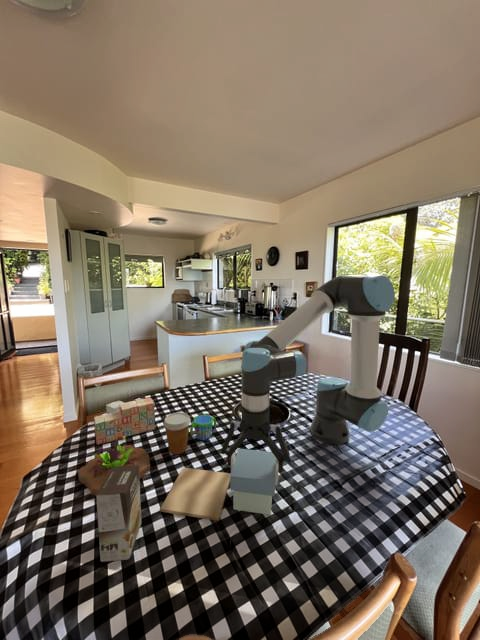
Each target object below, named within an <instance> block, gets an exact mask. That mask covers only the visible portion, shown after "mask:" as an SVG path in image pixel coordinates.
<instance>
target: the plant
mask: <svg viewBox="0 0 480 640" xmlns="http://www.w3.org/2000/svg"><path fill="white" fill-rule="evenodd" d="M125 439H126V437H125V436H120V437H118V438H117V439H116V440H115V442H114V444H113V448H111V449H110V448H102V449H100V450H98V451H97V452H95V453H94V458H90V459H88V461H87V464H85V465H84V466H81V467H80V469H79V470H78V475H77V476H78V477H77V478H78V481H79V482H80V483H81V484H83V485H85V486H86V487H87V489H88V490H89V491H90V495H92V496H96V494H97V492H98V491H99V489H100V487H101V486H102V484H103V483H104V481H105V479H106V478H107V476H108V474H109V473H110V471H111V470H112V468H113V467H121V466H128V465H139V480H141V478H143V477H144V476H145V475H147V473H150V471H151V463H150V455H149V453H148V452H147V451H146V450H145V449H144V448H142V447H136V446H134V445H131V444H127V445H123V446H121V445H120V444H118V443H119V440H120V441H122V442H123V441H125ZM101 452H105V453H101Z"/></svg>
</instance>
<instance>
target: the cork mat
mask: <svg viewBox="0 0 480 640" xmlns="http://www.w3.org/2000/svg"><path fill="white" fill-rule="evenodd" d="M230 475H231V472H230V473H229V472H221V471H216V470H215V471H213V470H208V469H207V470H205V469H199V468H198V469H197V468H190V467H182V469H181V471H180V472H179V474H178V476H177V478H176V479H175V481H174V483H173V485H172V487H171V489H170V491H169V493H168V494H167V495H166V498H165V500H164V501H163V503H162V504H161V506H160V509H159V510H160V512H163V513H169V514H173V515H181V516H188V517H193V518H198V519H205V520H206V519H207V520H212V521H220V519H221V514H222V511H223V507H224V503H225V500H226V496H227V492H228V489H229V485H230Z"/></svg>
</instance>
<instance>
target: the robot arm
mask: <svg viewBox="0 0 480 640" xmlns="http://www.w3.org/2000/svg"><path fill="white" fill-rule="evenodd" d="M395 292H396V291H395V287H394V284H393V282H392V281H391V279H390V278H389V277H388V276H386V275H385V274H381V273H380V274H379V273H366V274H363V273H362V274H343V275H338V276H336V277H334V278H332V279H330V280H328V281H326V282H325V283H323V284H322V285H320V286H319V287H317V288H316V290H314V291H313V292H312V293H311V295H310V298H309V299H307V301H305V302H303V304H301V305H300V306H299V307H298V308H297V309H296V310H294V311H293V312H292V313H291V314H290V315H288V316H287V317H286V318H285V319H284V320H282V321H281V322H280V323H279V324H278V325H277V326H276V327H274V328H273V329H271V331H269V332H268V333H267V334H265V336H263V337H262V338H261V339H260V340H251V341H249V342H248V343H246V344H245V346H244V348H243V349H244V350H243V351H242V354H241V355H242V356H241V365H240V369H241V421H236V419H234V418H233V419H231V421H230V424H229V431H228V433H227V435H226V438H225V441H223V442H224V443H223V445H222V447H221V450H220V453H221V455H225V456H226V457H227V459H226V461H227V464H226V465H227V467H229V468H230V473H231V472H232V468H233V465H234V461H235V458H236V452H237V450H238V449H239V447H240V446H241V445H242V444H243V443H244V442H245V441H246V440H247V438H248V439H249V440H257V441H261V440H262V441H263V443H264V444H265V445H266V446H267V447H268V449H269V450H270V452H272V453H273V454H274V456H275V457H276V479H275V486H278V485H279V473H283V472H284V471H283V470H284V469H283V468H284V462H285V461H286V462H290V460H291V456H290V455H291V454H290V451H289V448H288V445H287V443H286V441H285V438H284V436H283V434H282V431H281V429H282V428H281V423H280V422H277V423H275V424H271V422H270V400H271V399H270V393H271V392H270V391H271V390H270V389H271V383H274V382H279V381H284V380H290V379H295V378H297V377H299V376H302V375H304V374H305V373H306V370H307V369H308V368H307V365H308V363H307V358H306V356H305V355H304V353H303V352H301V351H300V350H293V349H292V350H288V351H286V350H285V349H286V348H287V347H289V346H290V345H291V344H292V343H293V342H294V341H295V340H297V339H298V338H299V337H300V336H301V335H302V334H303V333H304V332H306V331H307V330H308V329H309V328H310V327H311V326H312V325H313V324H315V323H316V322H317V321H318V320H319V319H320V318H321V317H323V316H324V315H325V314H330V313H331V312H333V311H334V310H335V309H338V308H347V310H346V311H347V312H346V315H347V316H348V317H349V318H351V332H350V333H351V337H350V338H351V339H350V340H351V341H350V366H349V367H350V371H349V382H348V380H347V379H343V378H338V377H327V378H322V379H319V381H318V382H317V384H316V395H315V396H316V398H315V399H316V400H315V401H316V402H315V415H314V417H313V419H312V422H311V424H310V433H311V435H312V436H313V438H315V439H317V440H319V442H322V443H326V444H329V445H341V444H346V443H347V442H348V441H350V429H349V426H348V425H349V424H348V422H349V423H351V424H353V425H355V426H357V428H358V429H362V430H364V431H366V432H370V433H372V432H376V431H377V430H379V429H380V428H381V427H382V425H383V424H384V423H385V421H386V419H387V417H388V414H389V405H388V404H387V402H385V401H384V400H382V391H381V390H380V389H379V388H378V387H377V385H378V367H379V366H378V364H379V361H378V360H379V347H380V345H379V344H380V342H379V341H380V324H381V319H382V318H384V317H385V316H386V311H389V310H390V309H391V308H392V307H393V305H394V304H393V303H394V302H395V299H396V293H395ZM238 428H240V430H241V431H242V432H241V433H240V435H238V437H237V438H236V439H235V441H234V442H233V443H232V444H231V446H229V445H230V442H231V440H232V438H233V436H234V433H235V431H237V430H238ZM270 431H272V432H273V434H274V435H275V437H276V440H277V443H278V445H279V447H280V448H279V447H278V445H277V444H276V442H275V441H274V440H273V438H272V437H271V434H270V433H269V432H270Z"/></svg>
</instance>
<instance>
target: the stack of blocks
mask: <svg viewBox="0 0 480 640" xmlns="http://www.w3.org/2000/svg"><path fill="white" fill-rule="evenodd" d="M155 410H156V409H155V401H154V400H153V399H152V398H151V397H147V398H140V399H136V400H132V401H128V402H126V401H125V402H124V403H122V404H119V411H118V412H114V413H109V414H107V413H106V414H100V415H95V416H94V419H93V422H94V432H95V440H96V446H97V445H101V444H102V445H103V444H106V443H109V442H113V441H116V440H117V438H118V437H120V436H125V438H128V437H129V436H135V435H137V434H141V433H145V432H149V431H152V430H155V429H156V422H155V421H156V411H155Z"/></svg>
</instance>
